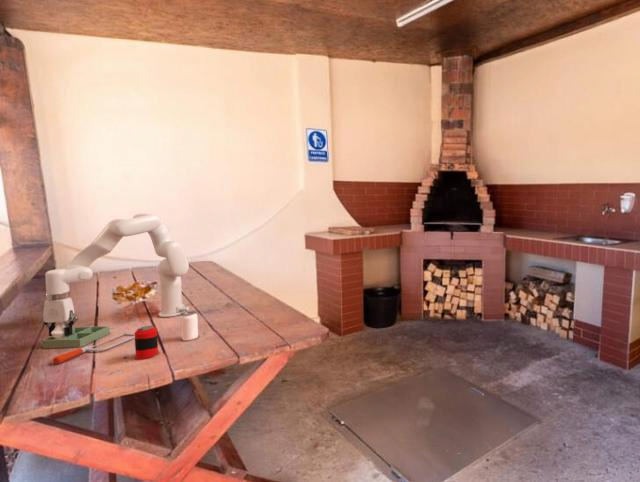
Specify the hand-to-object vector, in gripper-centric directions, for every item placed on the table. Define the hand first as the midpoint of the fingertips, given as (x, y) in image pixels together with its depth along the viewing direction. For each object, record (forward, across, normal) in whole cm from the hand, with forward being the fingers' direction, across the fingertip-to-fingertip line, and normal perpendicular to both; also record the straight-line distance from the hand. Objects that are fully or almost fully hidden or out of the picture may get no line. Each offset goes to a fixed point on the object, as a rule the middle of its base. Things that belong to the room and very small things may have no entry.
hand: (60, 334), depth 179 cm
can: (+5, +56, +3) cm, 56 cm away
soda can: (+5, +49, -15) cm, 51 cm away
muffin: (+2, 0, 0) cm, 2 cm away
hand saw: (+5, +23, -6) cm, 24 cm away
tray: (+4, +4, +4) cm, 7 cm away
